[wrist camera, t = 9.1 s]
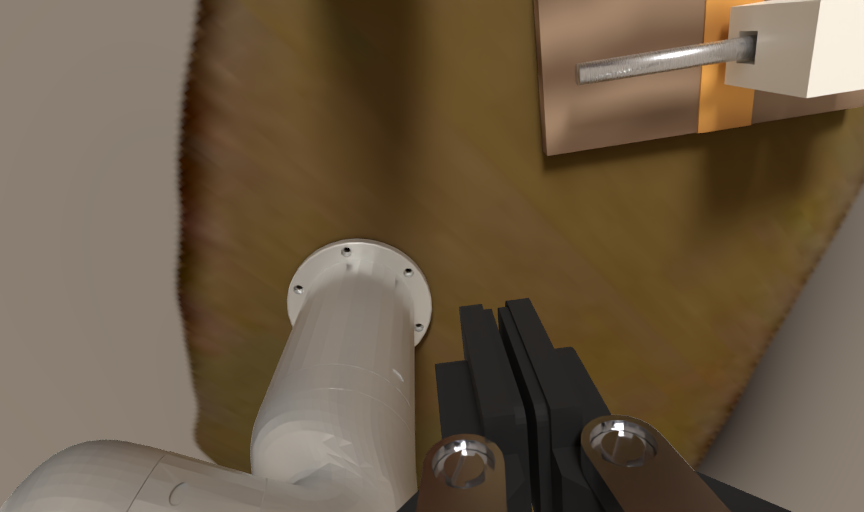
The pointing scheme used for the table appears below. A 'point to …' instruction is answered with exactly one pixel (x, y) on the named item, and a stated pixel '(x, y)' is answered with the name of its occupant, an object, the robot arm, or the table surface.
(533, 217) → the table surface
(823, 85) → the sleeve
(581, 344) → the table surface
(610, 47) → the board
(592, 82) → the metal rod
